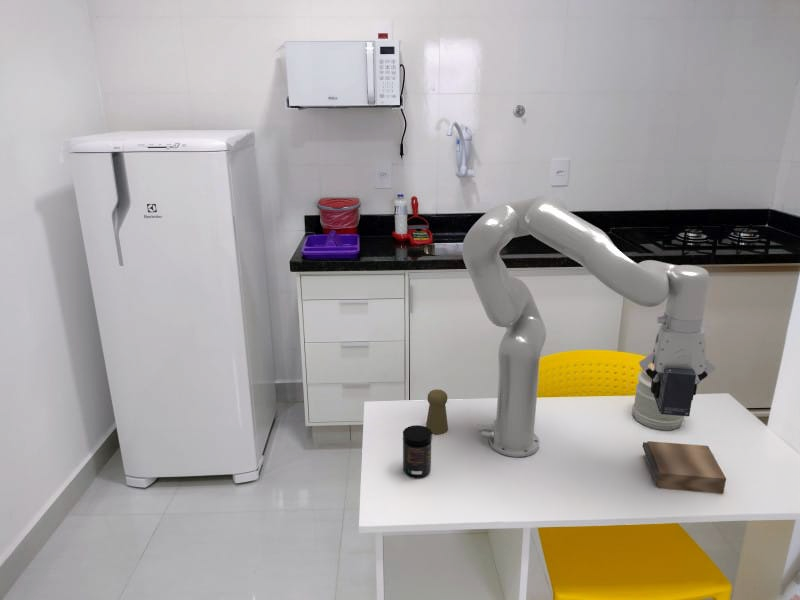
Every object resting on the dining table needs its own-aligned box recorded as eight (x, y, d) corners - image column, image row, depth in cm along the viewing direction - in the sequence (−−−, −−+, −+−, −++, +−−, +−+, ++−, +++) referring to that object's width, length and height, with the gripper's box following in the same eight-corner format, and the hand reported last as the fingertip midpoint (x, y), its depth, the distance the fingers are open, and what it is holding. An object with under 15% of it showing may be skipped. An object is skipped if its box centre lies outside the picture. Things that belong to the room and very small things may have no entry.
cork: (452, 426, 166) (453, 390, 162) (441, 437, 161) (442, 400, 157) (432, 420, 169) (433, 384, 165) (421, 430, 164) (421, 393, 160)
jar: (678, 409, 175) (688, 351, 168) (687, 434, 163) (698, 373, 157) (629, 403, 177) (637, 347, 171) (634, 427, 166) (643, 368, 159)
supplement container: (429, 461, 151) (430, 424, 148) (432, 479, 145) (433, 440, 141) (401, 463, 151) (401, 425, 147) (403, 480, 145) (403, 441, 141)
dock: (653, 487, 142) (655, 472, 141) (641, 454, 154) (643, 440, 153) (723, 493, 140) (726, 478, 138) (705, 459, 152) (708, 445, 151)
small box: (691, 417, 136) (698, 374, 132) (659, 415, 137) (665, 372, 133) (681, 394, 145) (687, 353, 142) (651, 392, 147) (656, 351, 143)
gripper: (644, 327, 132) (635, 402, 138) (731, 331, 129) (718, 407, 136) (637, 315, 139) (629, 386, 145) (720, 317, 136) (708, 390, 143)
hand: (672, 395), depth 140 cm, fingers closed on small box, 6 cm apart
